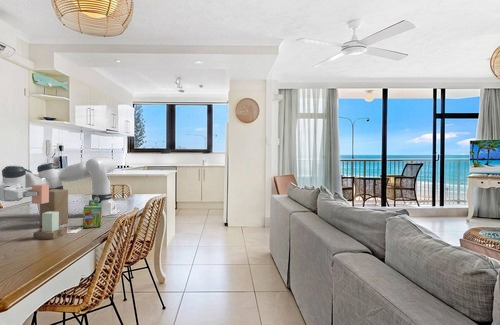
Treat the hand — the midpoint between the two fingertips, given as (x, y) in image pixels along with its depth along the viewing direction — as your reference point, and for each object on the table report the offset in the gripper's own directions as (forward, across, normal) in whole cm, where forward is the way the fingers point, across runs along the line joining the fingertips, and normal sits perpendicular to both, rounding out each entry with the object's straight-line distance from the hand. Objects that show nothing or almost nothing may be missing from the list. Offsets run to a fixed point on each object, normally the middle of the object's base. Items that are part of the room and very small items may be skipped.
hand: (42, 192), depth 150 cm
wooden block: (-11, -24, -22) cm, 35 cm away
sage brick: (+4, 0, -19) cm, 19 cm away
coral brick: (-1, 0, -5) cm, 5 cm away
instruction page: (+7, -12, -22) cm, 26 cm away
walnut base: (+4, 0, -22) cm, 22 cm away
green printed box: (+13, -22, -22) cm, 34 cm away
